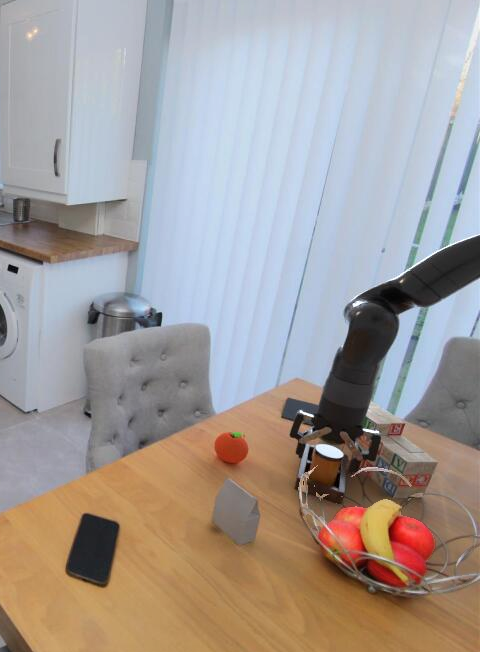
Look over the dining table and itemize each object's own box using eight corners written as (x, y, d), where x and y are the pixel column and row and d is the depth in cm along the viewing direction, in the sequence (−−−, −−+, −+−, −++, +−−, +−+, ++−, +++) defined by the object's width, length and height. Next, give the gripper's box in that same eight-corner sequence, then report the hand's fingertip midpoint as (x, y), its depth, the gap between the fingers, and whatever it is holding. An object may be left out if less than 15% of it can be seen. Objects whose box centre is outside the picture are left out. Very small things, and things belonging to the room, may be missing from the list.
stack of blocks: (424, 499, 98) (444, 449, 94) (392, 499, 98) (411, 449, 94) (350, 437, 118) (364, 393, 113) (324, 437, 118) (336, 394, 114)
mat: (349, 414, 127) (349, 412, 127) (347, 436, 118) (347, 434, 118) (287, 399, 135) (287, 397, 135) (280, 418, 127) (281, 416, 126)
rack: (344, 467, 108) (347, 455, 107) (340, 506, 97) (344, 493, 96) (301, 454, 113) (305, 442, 111) (293, 490, 102) (297, 477, 101)
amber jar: (333, 484, 103) (344, 449, 99) (331, 497, 99) (343, 461, 96) (306, 475, 105) (316, 441, 102) (303, 487, 102) (314, 452, 98)
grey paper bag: (239, 546, 89) (249, 503, 85) (211, 520, 95) (219, 479, 91) (254, 540, 90) (265, 498, 86) (225, 515, 96) (234, 475, 92)
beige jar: (335, 467, 108) (345, 433, 104) (333, 478, 104) (344, 444, 101) (309, 459, 110) (319, 426, 107) (307, 470, 107) (317, 436, 104)
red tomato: (227, 446, 116) (232, 421, 114) (255, 461, 111) (261, 436, 108) (205, 456, 113) (210, 431, 110) (232, 473, 107) (238, 447, 105)
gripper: (300, 393, 95) (282, 460, 101) (393, 416, 87) (368, 487, 93) (304, 378, 101) (287, 443, 107) (392, 399, 92) (368, 467, 99)
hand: (324, 463), depth 100 cm, fingers open, 8 cm apart
